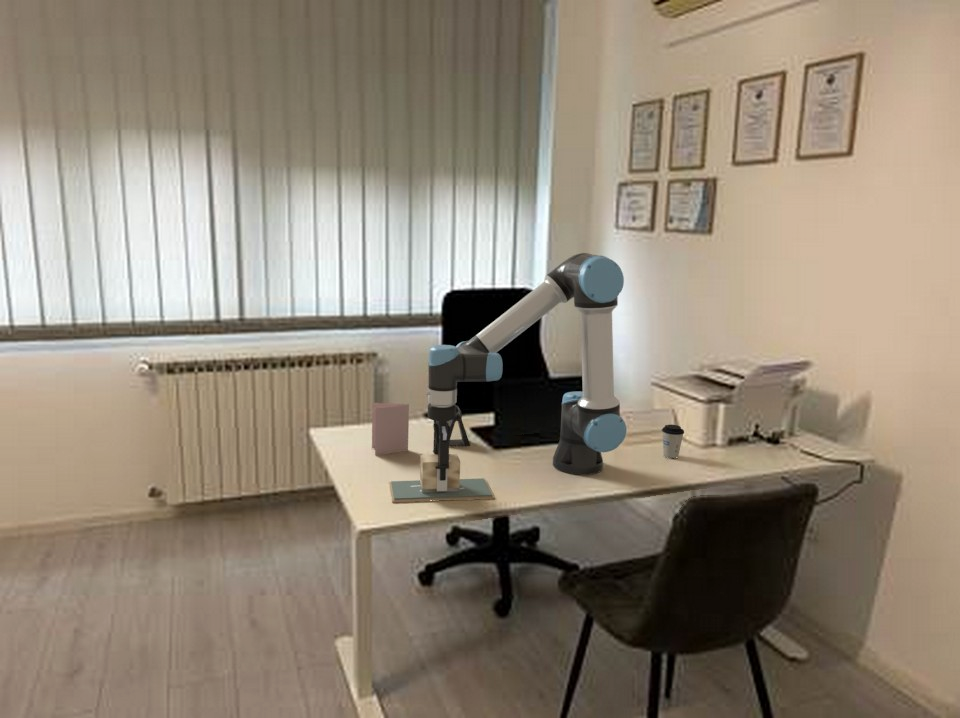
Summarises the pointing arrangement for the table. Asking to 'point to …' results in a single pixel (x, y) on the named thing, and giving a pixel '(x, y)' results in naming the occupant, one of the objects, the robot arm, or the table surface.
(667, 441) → the coffee cup
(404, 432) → the greeting card
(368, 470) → the table surface
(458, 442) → the phone stand
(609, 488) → the table surface
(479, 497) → the chalkboard
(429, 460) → the eraser block
